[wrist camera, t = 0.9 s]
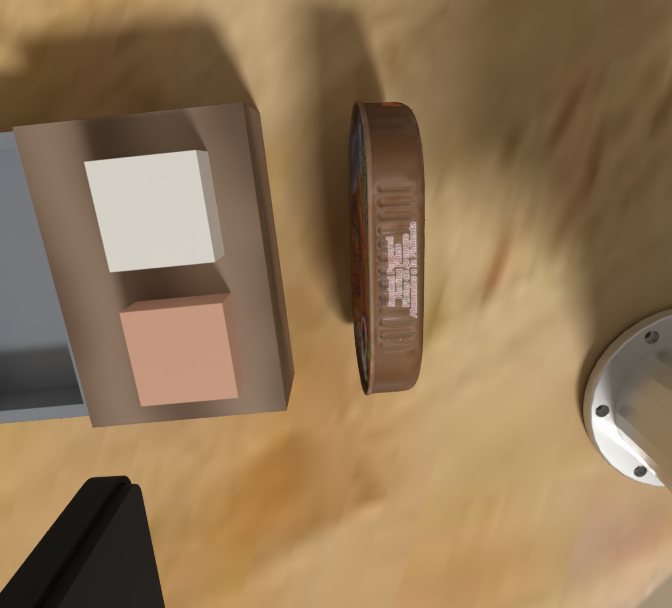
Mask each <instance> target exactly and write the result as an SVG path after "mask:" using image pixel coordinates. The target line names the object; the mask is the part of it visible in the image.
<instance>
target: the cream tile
mask: <svg viewBox="0 0 672 608" xmlns="http://www.w3.org/2000/svg"><path fill="white" fill-rule="evenodd" d="M84 164H85V168H86V173H87V177H88V181H89V185H90V190H91V194H92V198H93V203H94V207H95V211H96V215H97V220H98V224H99V228H100V233H101V237H102V241H103V245H104V250H105V254H106V258H107V262H108V267H109V271H110V272H119V271H129V270H139V269H150V268H160V267H170V266H180V265H190V264H201V263H211V262H216V261H217V260H218V259H220V258H221V257H222V256H223V255H225V253H224V247H223V241H222V235H221V229H220V223H219V217H218V211H217V205H216V199H215V192H214V186H213V180H212V174H211V168H210V162H209V156H208V151H200V150H191V151H182V152H173V153H163V154H154V155H144V156H135V157H125V158H116V159H106V160H97V161H87V162H84Z"/></svg>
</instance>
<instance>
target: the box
mask: <svg viewBox="0 0 672 608" xmlns="http://www.w3.org/2000/svg"><path fill="white" fill-rule="evenodd" d="M81 416H89V412H88V408H87V404H86V401H85V397H84V393H83V389H82V386H81V382H80V378H79V374H78V371H77V367H76V363H75V360H74V356H73V352H72V348H71V345H70V341H69V337H68V333H67V330H66V326H65V322H64V318H63V315H62V311H61V307H60V304H59V300H58V296H57V292H56V289H55V285H54V281H53V277H52V274H51V270H50V266H49V262H48V259H47V255H46V251H45V247H44V244H43V240H42V236H41V233H40V229H39V225H38V221H37V218H36V214H35V210H34V206H33V203H32V199H31V195H30V191H29V188H28V184H27V180H26V177H25V173H24V169H23V165H22V162H21V158H20V154H19V150H18V147H17V143H16V139H15V135H14V132H13V131H11V132H1V133H0V424H2V423H13V422H24V421H35V420H47V419H58V418H69V417H81Z"/></svg>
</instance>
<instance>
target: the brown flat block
mask: <svg viewBox="0 0 672 608" xmlns="http://www.w3.org/2000/svg"><path fill="white" fill-rule="evenodd" d="M12 128H13V132H14V135H15V139H16V143H17V147H18V150H19V154H20V158H21V162H22V165H23V169H24V173H25V177H26V180H27V184H28V188H29V191H30V195H31V199H32V203H33V206H34V210H35V214H36V218H37V221H38V225H39V229H40V233H41V236H42V240H43V244H44V247H45V251H46V255H47V259H48V262H49V266H50V270H51V274H52V277H53V281H54V285H55V289H56V292H57V296H58V300H59V304H60V307H61V311H62V315H63V318H64V322H65V326H66V330H67V333H68V337H69V341H70V345H71V348H72V352H73V356H74V360H75V363H76V367H77V371H78V374H79V378H80V382H81V386H82V389H83V393H84V397H85V401H86V404H87V408H88V412H89V416H90V419H91V423H92V427H105V426H116V425H127V424H139V423H150V422H162V421H173V420H184V419H196V418H207V417H218V416H230V415H241V414H253V413H264V412H275V411H287V406H288V402H289V397H290V392H291V387H292V383H293V378H294V366H293V359H292V351H291V344H290V336H289V329H288V321H287V314H286V306H285V299H284V291H283V284H282V276H281V269H280V261H279V254H278V247H277V239H276V232H275V224H274V217H273V209H272V202H271V194H270V187H269V179H268V172H267V164H266V157H265V149H264V142H263V135H262V127H261V120H260V113H259V112H257V111H256V110H254V109H253V108H251V107H250V106H248V105H247V104H245V103H244V102H237V103H228V104H219V105H210V106H201V107H191V108H182V109H173V110H164V111H154V112H145V113H136V114H127V115H118V116H108V117H99V118H90V119H81V120H72V121H62V122H53V123H44V124H35V125H26V126H16V127H12ZM191 150H200V151H208V156H209V162H210V168H211V174H212V180H213V186H214V192H215V199H216V205H217V211H218V217H219V223H220V229H221V235H222V241H223V247H224V253H225V255H223V256H222V257H221V258H220V259H218V260H217V261H216V262H211V263H201V264H190V265H180V266H170V267H160V268H150V269H139V270H129V271H119V272H110V271H109V267H108V262H107V258H106V254H105V250H104V245H103V241H102V237H101V233H100V228H99V224H98V220H97V215H96V211H95V207H94V203H93V198H92V194H91V190H90V185H89V181H88V177H87V173H86V168H85V164H84V162H87V161H97V160H106V159H116V158H125V157H135V156H144V155H154V154H163V153H173V152H182V151H191ZM221 293H231V296H232V302H233V308H234V314H235V320H236V326H237V332H238V338H239V344H240V350H241V356H242V362H243V368H244V374H245V380H246V381H245V383H244V386H243V388H242V390H241V393H240V395H239V397H238V398H231V399H219V400H208V401H197V402H186V403H174V404H163V405H152V406H141V404H140V399H139V395H138V391H137V387H136V382H135V378H134V374H133V369H132V365H131V361H130V357H129V352H128V348H127V344H126V340H125V335H124V331H123V327H122V322H121V318H120V314H119V313H120V312H121V311H123V310H124V309H126V308H127V307H129V306H130V305H132V304H133V303H135V302H138V301H148V300H159V299H169V298H180V297H190V296H200V295H211V294H221Z"/></svg>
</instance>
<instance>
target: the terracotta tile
mask: <svg viewBox="0 0 672 608" xmlns="http://www.w3.org/2000/svg"><path fill="white" fill-rule="evenodd" d="M119 314H120V318H121V322H122V327H123V331H124V335H125V340H126V344H127V348H128V352H129V357H130V361H131V365H132V369H133V374H134V378H135V382H136V387H137V391H138V395H139V399H140V404H141V406H152V405H163V404H174V403H186V402H197V401H208V400H219V399H231V398H238V397H239V395H240V393H241V390H242V388H243V386H244V383H245V381H246V380H245V374H244V368H243V362H242V356H241V350H240V344H239V338H238V332H237V326H236V320H235V314H234V308H233V302H232V296H231V293H221V294H211V295H200V296H190V297H180V298H169V299H159V300H148V301H138V302H135V303H133V304H132V305H130V306H129V307H127V308H126V309H124V310H123V311H121V312H120V313H119Z"/></svg>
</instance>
